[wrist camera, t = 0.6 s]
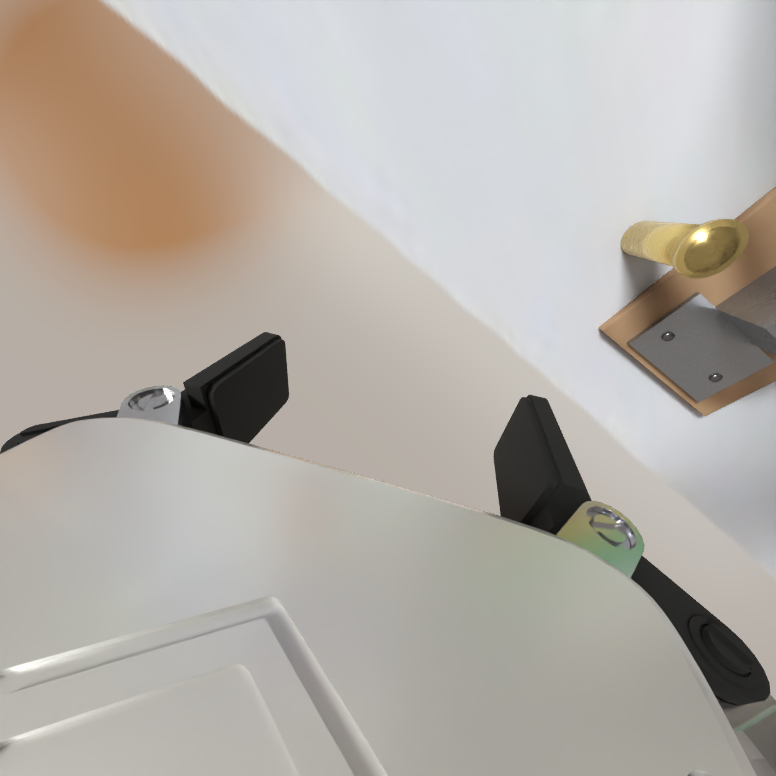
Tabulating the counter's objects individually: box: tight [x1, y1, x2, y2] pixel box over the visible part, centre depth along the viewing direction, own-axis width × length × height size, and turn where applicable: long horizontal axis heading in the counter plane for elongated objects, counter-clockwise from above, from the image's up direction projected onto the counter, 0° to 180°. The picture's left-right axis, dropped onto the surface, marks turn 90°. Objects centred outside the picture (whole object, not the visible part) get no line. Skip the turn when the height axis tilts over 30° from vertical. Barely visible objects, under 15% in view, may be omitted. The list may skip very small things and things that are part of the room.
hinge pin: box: [621, 219, 749, 279], centre depth 24 cm, size 4×4×10 cm
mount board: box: [599, 187, 776, 416], centre depth 28 cm, size 22×18×1 cm
